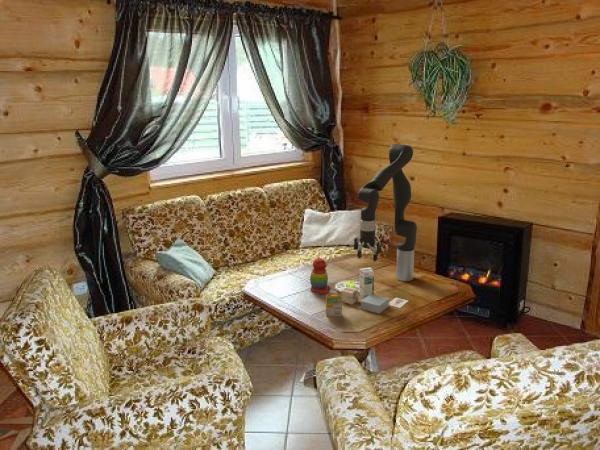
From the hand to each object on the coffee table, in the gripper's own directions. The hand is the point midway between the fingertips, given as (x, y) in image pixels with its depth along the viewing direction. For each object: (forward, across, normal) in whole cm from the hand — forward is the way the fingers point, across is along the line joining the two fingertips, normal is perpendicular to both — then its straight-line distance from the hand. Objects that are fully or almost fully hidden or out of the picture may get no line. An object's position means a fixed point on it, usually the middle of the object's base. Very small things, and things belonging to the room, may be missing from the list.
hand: (367, 259), depth 252 cm
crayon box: (+20, +2, +28) cm, 34 cm away
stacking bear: (+20, +24, +7) cm, 32 cm away
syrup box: (+20, 0, 0) cm, 20 cm away
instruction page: (+20, -17, -1) cm, 26 cm away
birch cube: (+20, +4, +10) cm, 23 cm away
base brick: (+20, -10, +10) cm, 24 cm away
